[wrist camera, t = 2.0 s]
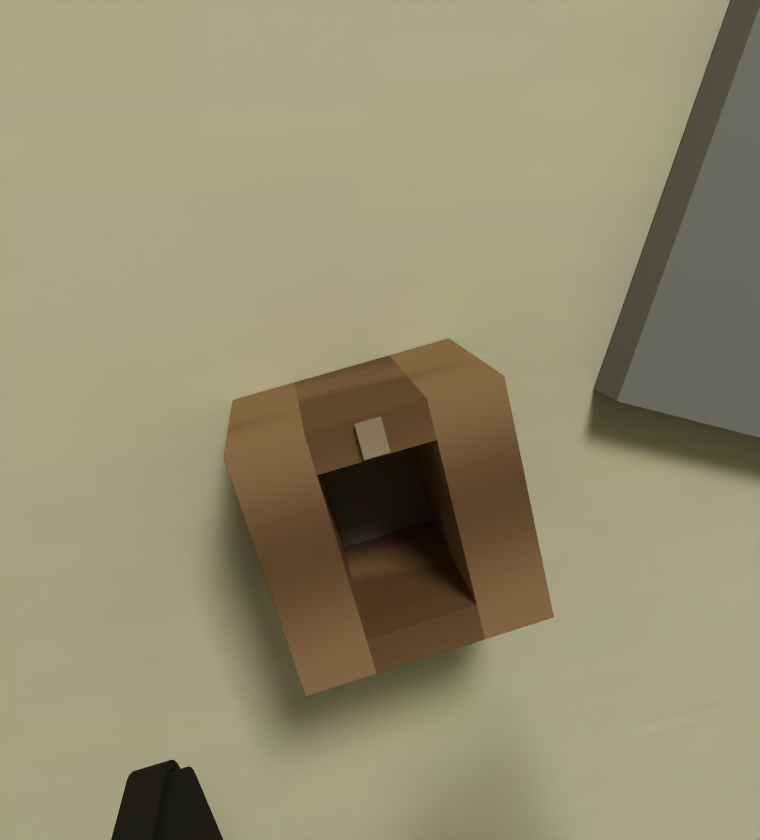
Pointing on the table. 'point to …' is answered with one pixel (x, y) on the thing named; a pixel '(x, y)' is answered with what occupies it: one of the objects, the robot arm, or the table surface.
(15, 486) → the table surface
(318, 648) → the open wooden cubby
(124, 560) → the table surface
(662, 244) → the plate
